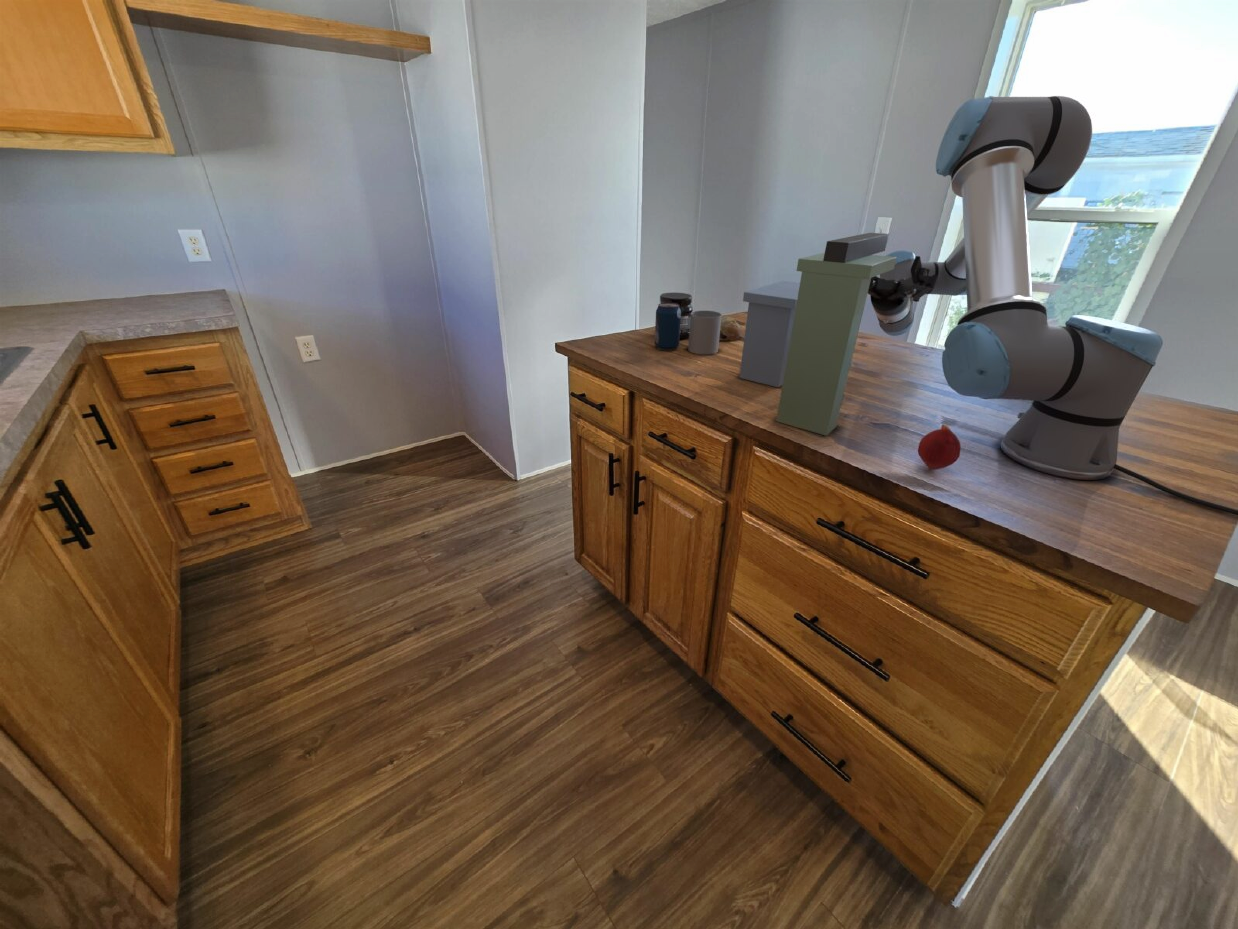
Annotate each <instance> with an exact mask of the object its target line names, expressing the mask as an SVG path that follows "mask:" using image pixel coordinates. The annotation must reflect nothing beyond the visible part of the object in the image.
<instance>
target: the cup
mask: <svg viewBox="0 0 1238 929" xmlns="http://www.w3.org/2000/svg"><path fill="white" fill-rule="evenodd" d="M721 317H723V314H722V313H720V312H719V311H715V310H693V311H692V312H691V318H690V332H689V337H688V345H687V346H688V347H687V350H688V351H689V352H690V353H693V354H695V355H714V354H717V353H718V352H719V345H720V340H719V336H720V326H721Z"/></svg>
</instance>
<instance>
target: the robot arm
mask: <svg viewBox="0 0 1238 929" xmlns="http://www.w3.org/2000/svg"><path fill="white" fill-rule="evenodd" d="M1092 123H1093V122H1092V119H1091V115H1090V114H1089V112H1088V109H1087V108H1086V107H1085V105H1083V104H1082V103H1080V102H1079V101H1078V100H1076V99H1074V98H1071V97H1069V96H1064V95H1051V96H993V95H989V96H987V97H975V98H970V99H969V100H966V101H965V102H964V103H963V104H961V105H960V106H959V108H958V109H957V110H956V111H955V113H954V115H953V116H952V118H951V120H950V121H949V123H948V125H947V127H946V130H945V132H944V134H943V137H942V139H941V142H940V145H939V148H938V151H937V155H936V158H935V172H936V174H937V175H940V176H942V177H943V178H946V177H947V176H950V177H951V178H950V180H951V183H950V184H951V189H952V192H953V193H954V194H955V195H956V196H958V197H959V198H961V200H962V222H963V238H962V239H961V240H960V241H959V243H958V244H957V245H956V246H955V248H954V249H953V250H952V252H950V254H949V255H948V256H947V258H946V259H945V260H944V261H942V262H941V261H922V260H921V259H922V258H921V256H920V255H916V254H915V252H912V251H909V250H906V249H901V250H895V251H892V252H890V253H888V254H886V255H885V256H890V257H897V259H896V263H895V266H894V269H893V270H890V271H887V272H885V273H882V274H880V275H879V276H878V275H877V276H875V277H872V278H871V281H870V285H869V289H868V294H867V295H869V297H870V303H871V305H872V308H873V310H874V313H875V314H876V318H877V320H878V325H879V328H880V329H881V330H882V331H883V332H884V333H885V334H886V335H888V336H893V337H898V336H902V335H903V334H906V333H907V332H908V331H909V330H911V328H912V327H913V324H914V322H915V321H914V320H915V313H914V302H916V303H919V302H920V300H921V298H922V297H923V296H925V295H937V296H939V295H940V296H954V297H955V296H956V297H957V296H966V308H967V309H966V310H967V311H966V313H964V314H963V315H962V316H961V317H960V318H959V319H958V321H957V323H956V326H954V328H952V329H951V330H950V332H948V335H947V336H946V339H945V341H944V344H943V347H944V350H943V351H942V356H941V365H942V366H941V367H942V372H943V376H944V379H945V381H946V383H947V384H948V386H949V387H950V388H951V389H952V390H953V391H955V393H957V394H958V395H960V396H963V397H970V398H971V397H972V398H979V399H982V400H1018V401H1032V403H1031V405H1030V407H1029V408H1028V409H1027V410H1026V411H1025V412H1019V413H1018V414H1017V417H1016V418H1017V419H1018V420H1017V421H1016V422H1015V423H1014V424H1013V425H1012V426H1011V428H1010V429H1009V430H1007V431H1006V433H1005V435H1004V437H1003V438H1002V440H1001V443H1000V449H1001V450H1002V452H1003V453H1004V455H1006V456H1007V457H1009V458H1010V459H1011V460H1013V461H1015V462H1017V463H1019V464H1020V465H1022V466H1025V467H1028V468H1030V469H1033V470H1036V471H1039V472H1041V473H1045V474H1048V475H1052V476H1056V477H1057V476H1058V477H1060V478H1066V479H1072V480H1082V481H1097V480H1104V479H1106V478H1108V477H1110V476H1111V474H1112V473H1113V471H1114V470H1116V471H1118V472H1121V473H1123V474H1126V475H1127V476H1130V477H1132V478H1134V479H1136V480H1139V481H1141V482H1144V483H1145V484H1148V485H1149V486H1152V487H1153V488H1155V489H1157V490H1160V491H1161V492H1164V493H1167V494H1169V495H1171V496H1173V497H1177V498H1180V499H1182V500H1185V501H1187V502H1191V503H1194V504H1197V505H1200V506H1204V507H1207V508H1211V509H1214V510H1217V511H1221V512H1225V513H1228V514H1231V515H1234V516H1235V515H1236V516H1238V509H1236V508H1232V507H1229V506H1225V505H1221V504H1218V503H1214V502H1210V501H1208V500H1204V499H1200V498H1197V497H1194V496H1191V495H1189V494H1185V493H1183V492H1180V491H1177V490H1174V489H1172V488H1169V487H1167V486H1165V485H1163V484H1160V483H1158V482H1157V481H1154V480H1153V479H1151V478H1148V477H1146V476H1144V475H1142V474H1139V473H1137V472H1135V471H1132V470H1130V469H1129V468H1126V467H1125V466H1121V465H1119V464H1117V462H1118V449H1119V436H1120V427H1121V425H1122V423H1123V422H1124V420H1125V418H1126V416H1127V414H1128V413H1129V411H1130V409H1131V407H1132V405H1133V403H1134V401H1135V399H1136V397H1137V396H1138V393H1140V390H1141V388H1142V387H1143V385H1144V383H1145V382H1146V379H1147V378H1148V376H1149V374H1150V373H1151V371H1152V369H1153V367H1156V361H1157V359H1158V356H1159V354H1160V352H1161V350H1162V348H1163V344H1164V341H1163V338H1162V337H1161V335H1159V334H1158V333H1157V332H1154V331H1152V330H1149V329H1147V328H1144V327H1140V326H1137V325H1133V324H1129V323H1126V322H1125V323H1124V322H1122V321H1121V322H1120V321H1116V320H1111V319H1108V318H1107V319H1106V318H1103V317H1096V316H1090V315H1083V314H1076V315H1071V316H1070V317H1069V318H1068V320H1067V321H1065V323H1064V324H1065V326H1064V327H1062V326H1063V325H1049V324H1048V315H1047V314H1048V313H1047V312H1048V311H1047V307H1046V305H1045V304H1044V303H1042V302H1040V301H1038V300H1035V299H1034V296H1033V295H1034V294H1033V285H1032V270H1031V269H1032V268H1031V257H1030V256H1031V255H1030V244H1029V231H1028V218H1029V217H1030V216H1031V215H1032V214H1033V213H1034V211H1035V210H1037V208H1038V207H1039V206H1040V205H1041V204H1042V203H1043V201H1045V200H1046V198H1048V196H1050V195H1053V194H1057V193H1058V192H1059V191H1061V190H1062V189H1063V188H1064V187H1065V186H1066V185H1067V184H1068V183H1069V182H1070V180H1072V178H1073V177H1074V176H1075V175H1076V174H1077V173H1078V171H1079V170H1080V169H1081V167H1082V165H1083V163H1084V161H1085V159H1086V157H1087V155H1088V152H1089V151H1090V147H1091V143H1092V138H1093V124H1092Z"/></svg>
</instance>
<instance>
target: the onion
mask: <svg viewBox="0 0 1238 929" xmlns="http://www.w3.org/2000/svg"><path fill="white" fill-rule="evenodd" d="M961 447H962V446H961V442H960V440H959V438H958V437H957V435H956V434H955V433H954V432H953V431H952V430H951V429H950V427H949V425H947V424H945V423H944V424H942V425H941V427H940V428H939V429H934V430H932V431H931V432H928V433H926V434H925V435H924V436H923V437H922V438H921V440H920V441H919V443H918V447H917V454H918V457H919V458H920V459H921V461H922V462H923V463H924V465H925V466H926V467H927V469H929V470H932V471H934V470H940V469H945V468H947V467H949V466H952V465H953V464H954V463H956V462H957V461H958V459H959V457H960V454H961V450H962V448H961Z"/></svg>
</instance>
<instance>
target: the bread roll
mask: <svg viewBox="0 0 1238 929" xmlns="http://www.w3.org/2000/svg"><path fill="white" fill-rule="evenodd" d="M740 337H741V326H740V324H739V323H738V322H737V321H736V320H735V319H734V318H733V317H731V316H726V315H722V316H721V326H720V336H719V341H725V342H727V341H729V342H734V341H737V340H739V338H740Z"/></svg>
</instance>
